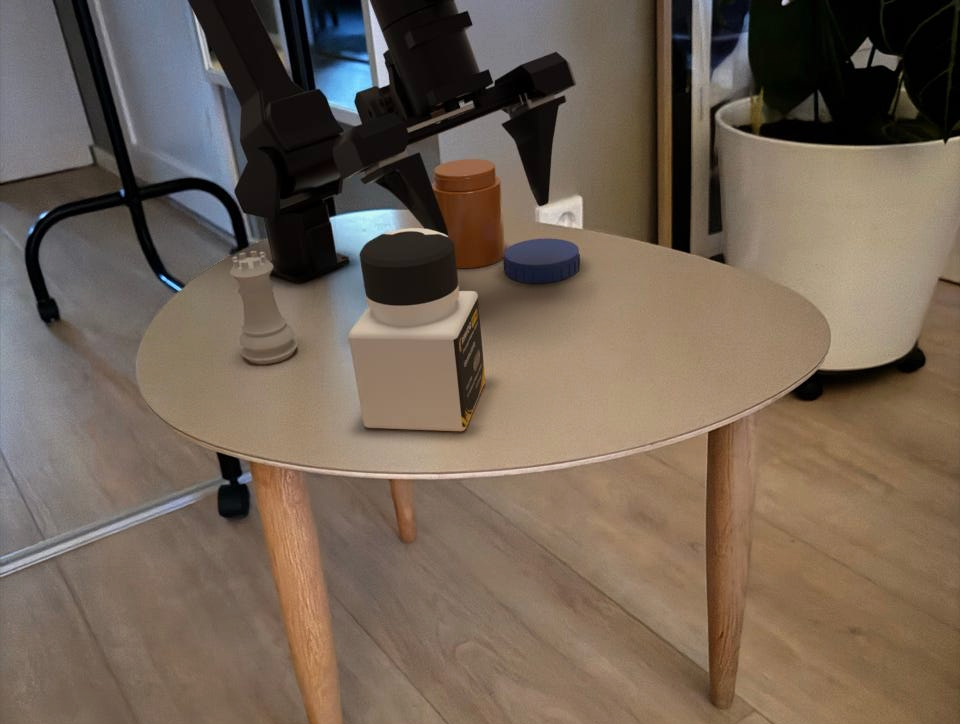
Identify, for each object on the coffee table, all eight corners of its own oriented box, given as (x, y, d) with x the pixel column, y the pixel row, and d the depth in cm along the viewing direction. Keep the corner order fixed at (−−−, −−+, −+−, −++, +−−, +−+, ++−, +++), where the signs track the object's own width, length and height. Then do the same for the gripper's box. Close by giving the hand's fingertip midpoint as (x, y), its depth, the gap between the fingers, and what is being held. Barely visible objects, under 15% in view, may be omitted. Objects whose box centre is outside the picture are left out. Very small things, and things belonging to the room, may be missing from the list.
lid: (586, 278, 81) (586, 260, 80) (509, 287, 81) (508, 268, 80) (571, 252, 87) (571, 234, 86) (500, 260, 86) (498, 242, 86)
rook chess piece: (282, 367, 71) (261, 268, 66) (232, 364, 72) (207, 266, 68) (308, 343, 74) (289, 247, 70) (259, 339, 76) (237, 245, 71)
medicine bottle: (465, 433, 60) (447, 258, 54) (362, 429, 62) (333, 258, 55) (486, 382, 66) (472, 218, 59) (392, 380, 68) (368, 219, 61)
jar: (425, 259, 88) (415, 171, 84) (471, 240, 92) (464, 154, 87) (472, 273, 84) (464, 181, 80) (519, 252, 88) (513, 162, 83)
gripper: (477, 18, 77) (542, 199, 81) (277, 87, 71) (359, 279, 75) (542, -32, 67) (611, 177, 71) (316, 43, 61) (407, 267, 65)
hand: (496, 225), depth 71 cm, fingers open, 9 cm apart
